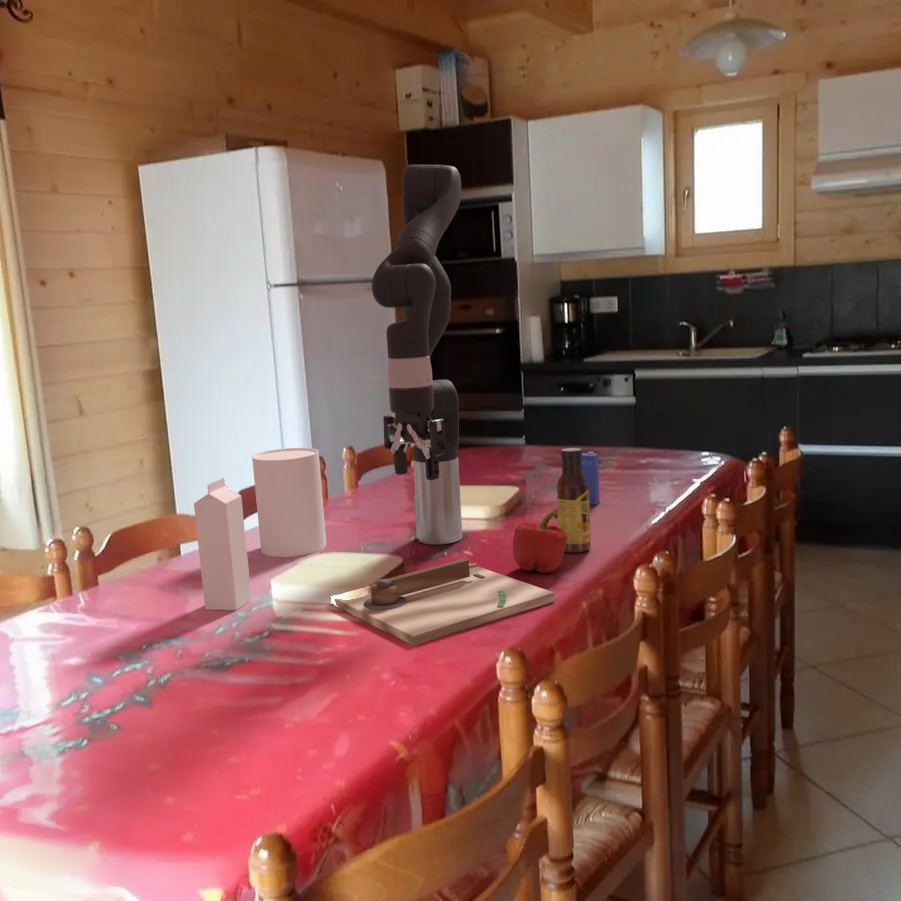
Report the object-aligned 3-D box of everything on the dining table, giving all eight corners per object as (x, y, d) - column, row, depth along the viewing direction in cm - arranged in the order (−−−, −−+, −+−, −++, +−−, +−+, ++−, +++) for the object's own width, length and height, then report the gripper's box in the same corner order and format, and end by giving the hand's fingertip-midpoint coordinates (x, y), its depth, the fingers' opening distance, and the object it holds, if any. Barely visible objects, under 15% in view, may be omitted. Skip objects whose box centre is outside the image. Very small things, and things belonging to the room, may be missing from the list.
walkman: (599, 502, 227) (598, 452, 225) (595, 505, 225) (594, 454, 222) (567, 500, 231) (565, 451, 228) (563, 503, 228) (561, 453, 226)
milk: (205, 610, 168) (190, 485, 164) (221, 598, 173) (207, 477, 170) (237, 610, 166) (223, 484, 162) (252, 598, 172) (239, 477, 168)
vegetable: (539, 557, 186) (536, 506, 185) (582, 566, 179) (580, 514, 177) (500, 572, 179) (497, 519, 177) (543, 582, 172) (541, 527, 170)
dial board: (330, 604, 167) (329, 594, 166) (462, 568, 182) (461, 559, 182) (413, 645, 146) (412, 634, 145) (554, 601, 161) (554, 591, 161)
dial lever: (366, 599, 162) (365, 581, 161) (469, 571, 173) (468, 554, 173) (380, 606, 158) (378, 587, 157) (484, 577, 170) (483, 559, 169)
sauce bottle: (590, 554, 187) (586, 452, 183) (557, 554, 188) (553, 453, 184) (592, 544, 193) (588, 446, 189) (560, 544, 194) (556, 446, 191)
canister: (339, 544, 204) (331, 450, 201) (288, 560, 195) (279, 462, 191) (299, 535, 213) (291, 446, 210) (248, 550, 204) (238, 456, 200)
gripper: (454, 382, 163) (460, 477, 166) (402, 379, 174) (408, 468, 176) (419, 387, 158) (426, 485, 161) (368, 384, 169) (374, 476, 172)
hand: (416, 476), depth 169 cm, fingers open, 8 cm apart
